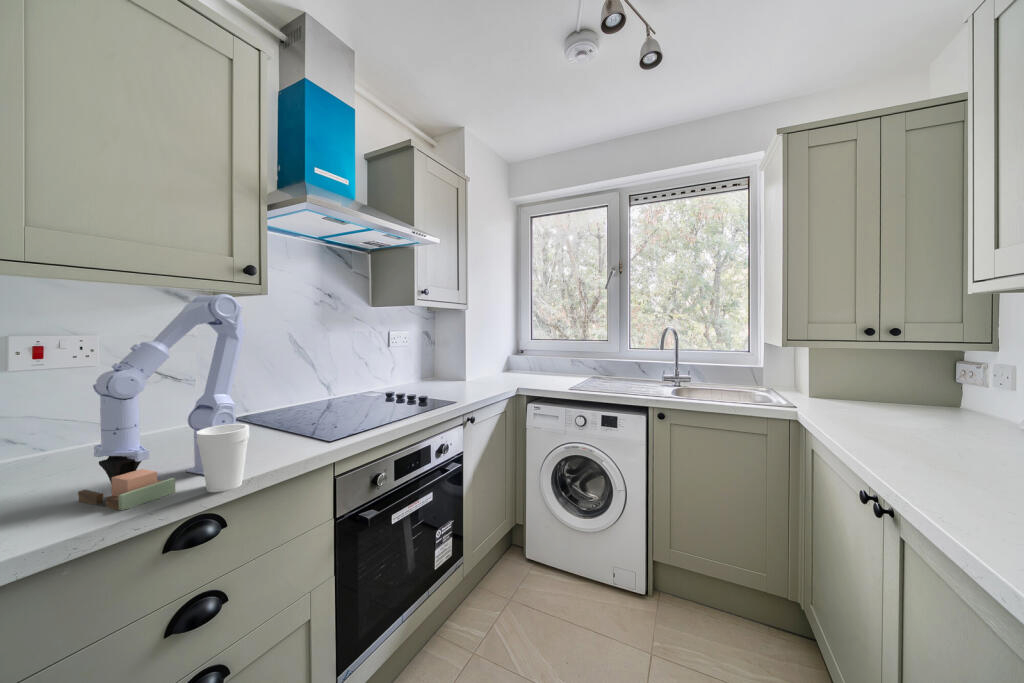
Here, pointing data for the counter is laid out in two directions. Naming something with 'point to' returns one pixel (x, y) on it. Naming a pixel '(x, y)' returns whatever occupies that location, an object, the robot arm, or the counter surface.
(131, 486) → the terracotta block
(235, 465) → the foam cup
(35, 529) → the counter surface
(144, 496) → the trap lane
